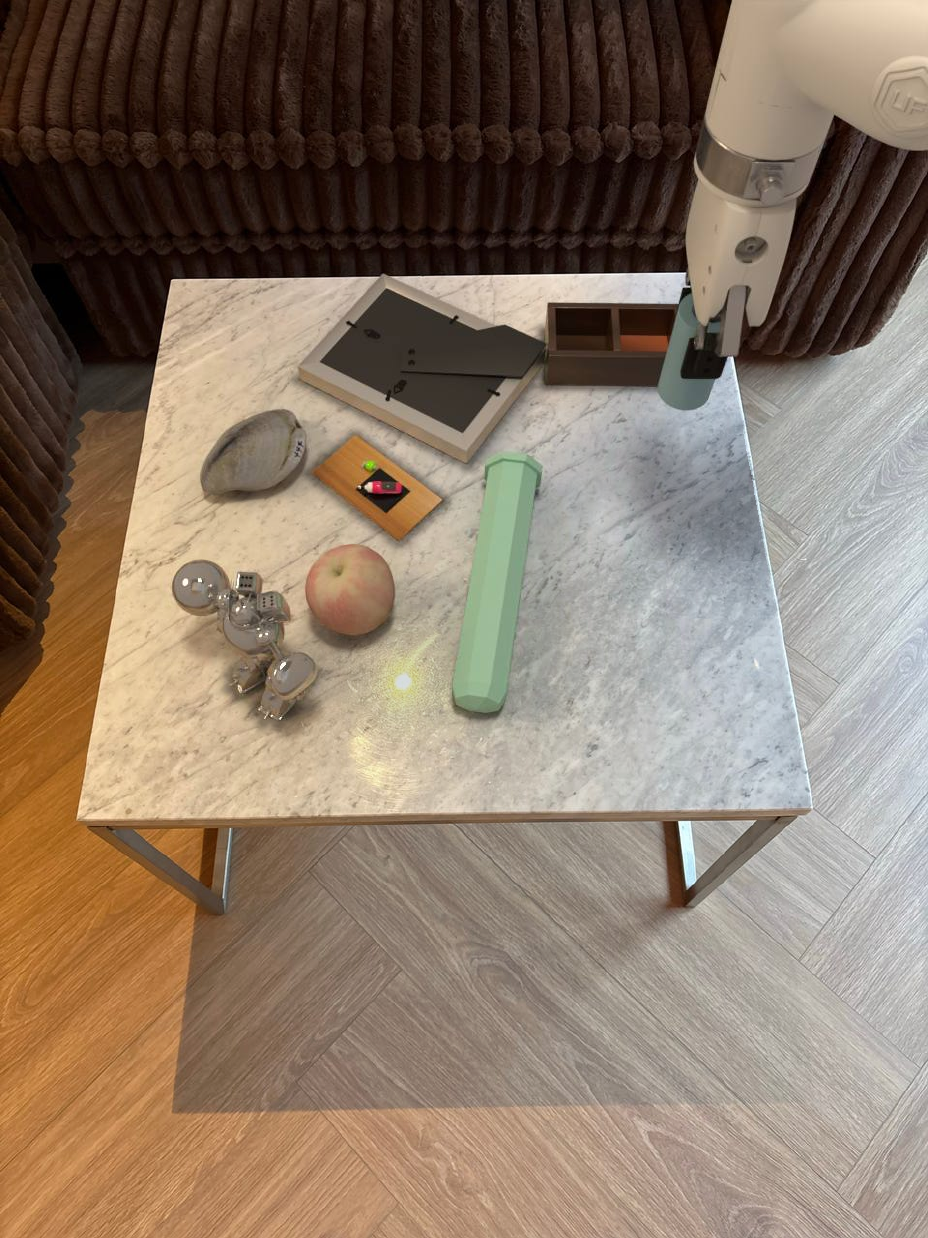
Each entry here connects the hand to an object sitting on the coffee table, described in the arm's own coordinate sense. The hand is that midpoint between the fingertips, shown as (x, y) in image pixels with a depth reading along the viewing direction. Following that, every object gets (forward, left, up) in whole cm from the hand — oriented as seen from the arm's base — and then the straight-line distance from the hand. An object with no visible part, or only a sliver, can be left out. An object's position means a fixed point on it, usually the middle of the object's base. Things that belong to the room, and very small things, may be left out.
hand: (696, 349), depth 76 cm
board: (+27, 0, -20) cm, 34 cm away
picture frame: (+23, -15, -20) cm, 34 cm away
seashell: (+39, -2, -20) cm, 44 cm away
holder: (+3, -17, -20) cm, 26 cm away
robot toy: (+36, +20, -20) cm, 46 cm away
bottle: (0, 0, -5) cm, 5 cm away
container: (+16, +12, -20) cm, 28 cm away
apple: (+28, +14, -20) cm, 37 cm away
